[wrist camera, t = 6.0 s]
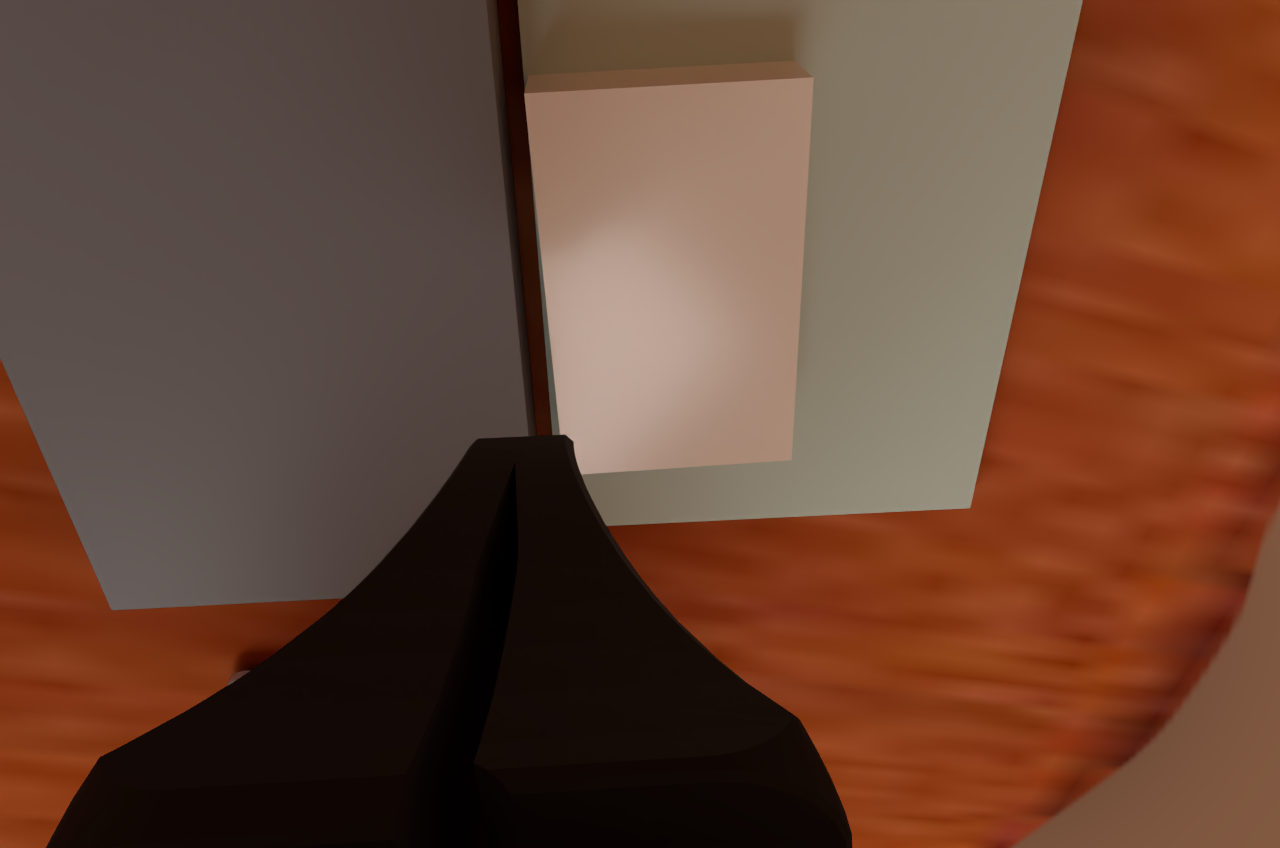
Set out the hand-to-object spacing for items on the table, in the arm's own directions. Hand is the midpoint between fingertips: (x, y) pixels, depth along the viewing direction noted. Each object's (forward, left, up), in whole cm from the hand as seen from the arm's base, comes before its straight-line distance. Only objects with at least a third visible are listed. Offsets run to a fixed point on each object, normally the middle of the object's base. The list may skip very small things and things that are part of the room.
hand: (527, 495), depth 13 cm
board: (0, +5, -8) cm, 10 cm away
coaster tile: (0, -3, -7) cm, 8 cm away
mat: (0, -5, -8) cm, 9 cm away
